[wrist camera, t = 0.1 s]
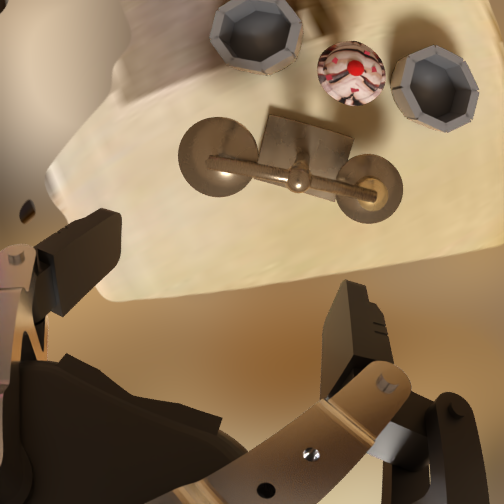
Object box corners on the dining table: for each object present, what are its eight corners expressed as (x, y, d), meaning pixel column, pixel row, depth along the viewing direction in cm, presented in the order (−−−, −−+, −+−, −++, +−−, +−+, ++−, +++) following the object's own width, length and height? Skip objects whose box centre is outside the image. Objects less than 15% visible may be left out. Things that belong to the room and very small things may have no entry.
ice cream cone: (356, 55, 30) (381, 25, 17) (371, 100, 32) (406, 97, 19) (309, 66, 32) (306, 40, 18) (325, 111, 34) (332, 113, 21)
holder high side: (234, 2, 29) (222, -11, 24) (308, 15, 29) (307, 1, 24) (218, 67, 34) (203, 62, 29) (291, 81, 33) (288, 77, 28)
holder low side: (399, 43, 28) (412, 34, 23) (463, 73, 27) (483, 70, 23) (382, 109, 32) (393, 110, 27) (447, 137, 32) (465, 142, 27)
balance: (225, 104, 36) (173, 105, 22) (395, 153, 34) (440, 182, 21) (212, 165, 39) (159, 200, 26) (375, 212, 38) (403, 271, 24)
